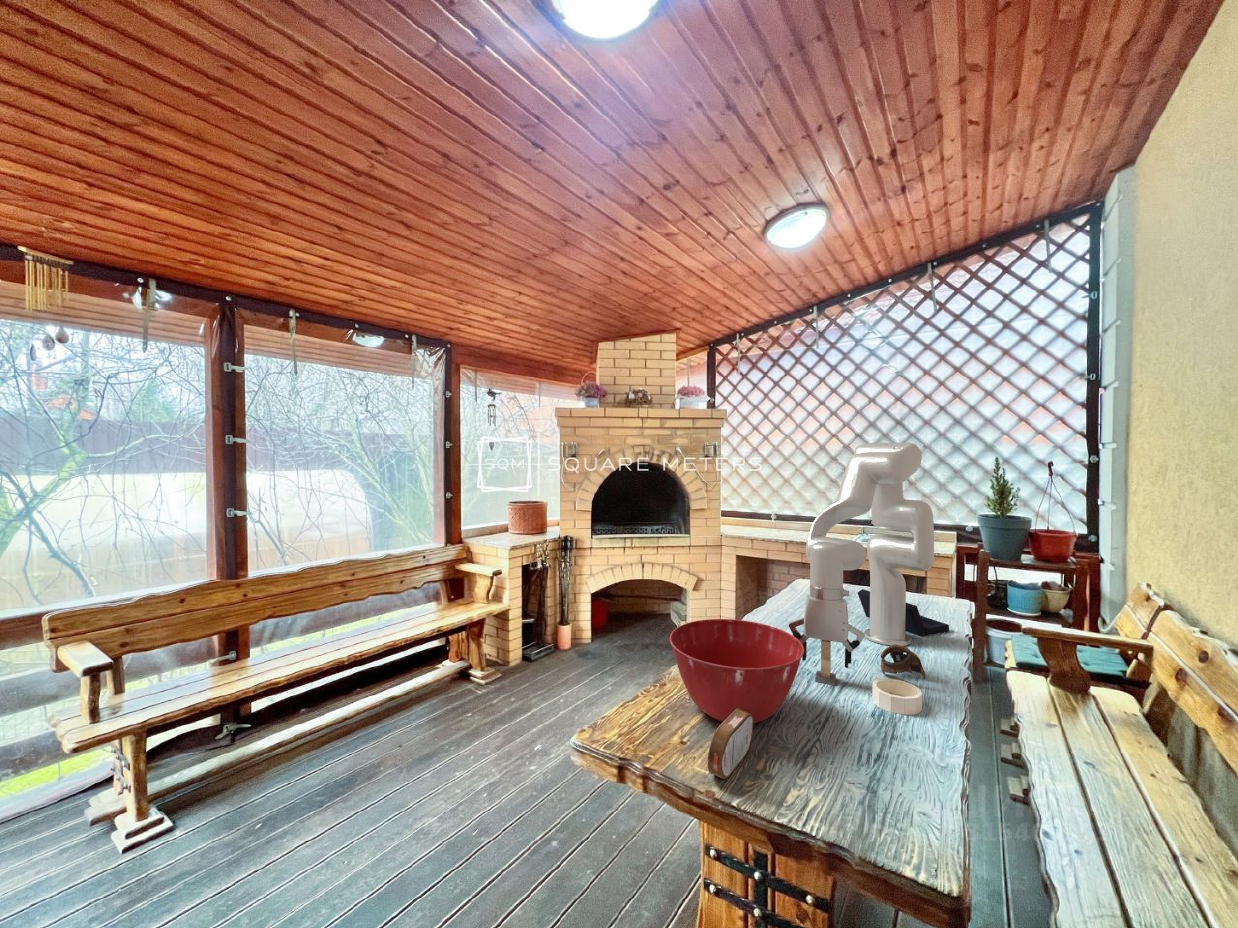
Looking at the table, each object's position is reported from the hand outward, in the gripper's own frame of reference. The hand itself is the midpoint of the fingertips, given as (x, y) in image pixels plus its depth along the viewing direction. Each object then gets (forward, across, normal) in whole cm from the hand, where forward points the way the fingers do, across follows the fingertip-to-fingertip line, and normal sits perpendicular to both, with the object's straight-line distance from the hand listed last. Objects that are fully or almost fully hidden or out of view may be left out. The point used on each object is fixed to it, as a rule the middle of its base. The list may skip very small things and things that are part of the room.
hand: (825, 662), depth 125 cm
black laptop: (+4, -20, -55) cm, 59 cm away
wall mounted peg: (+5, 0, 0) cm, 5 cm away
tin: (+6, +13, +44) cm, 46 cm away
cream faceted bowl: (+4, -15, +6) cm, 17 cm away
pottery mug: (+5, -18, -13) cm, 23 cm away
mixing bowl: (+5, +17, +24) cm, 29 cm away
